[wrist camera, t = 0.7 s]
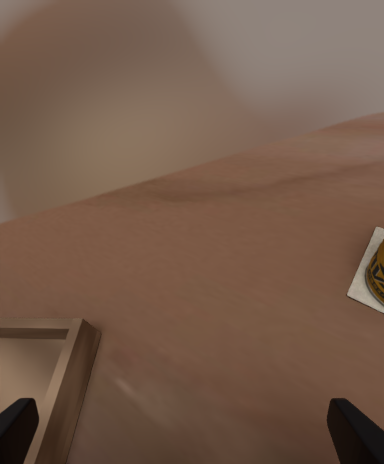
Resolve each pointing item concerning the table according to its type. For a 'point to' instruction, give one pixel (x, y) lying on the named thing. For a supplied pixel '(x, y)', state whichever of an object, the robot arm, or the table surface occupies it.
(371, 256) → the condiment
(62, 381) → the box
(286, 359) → the table surface
